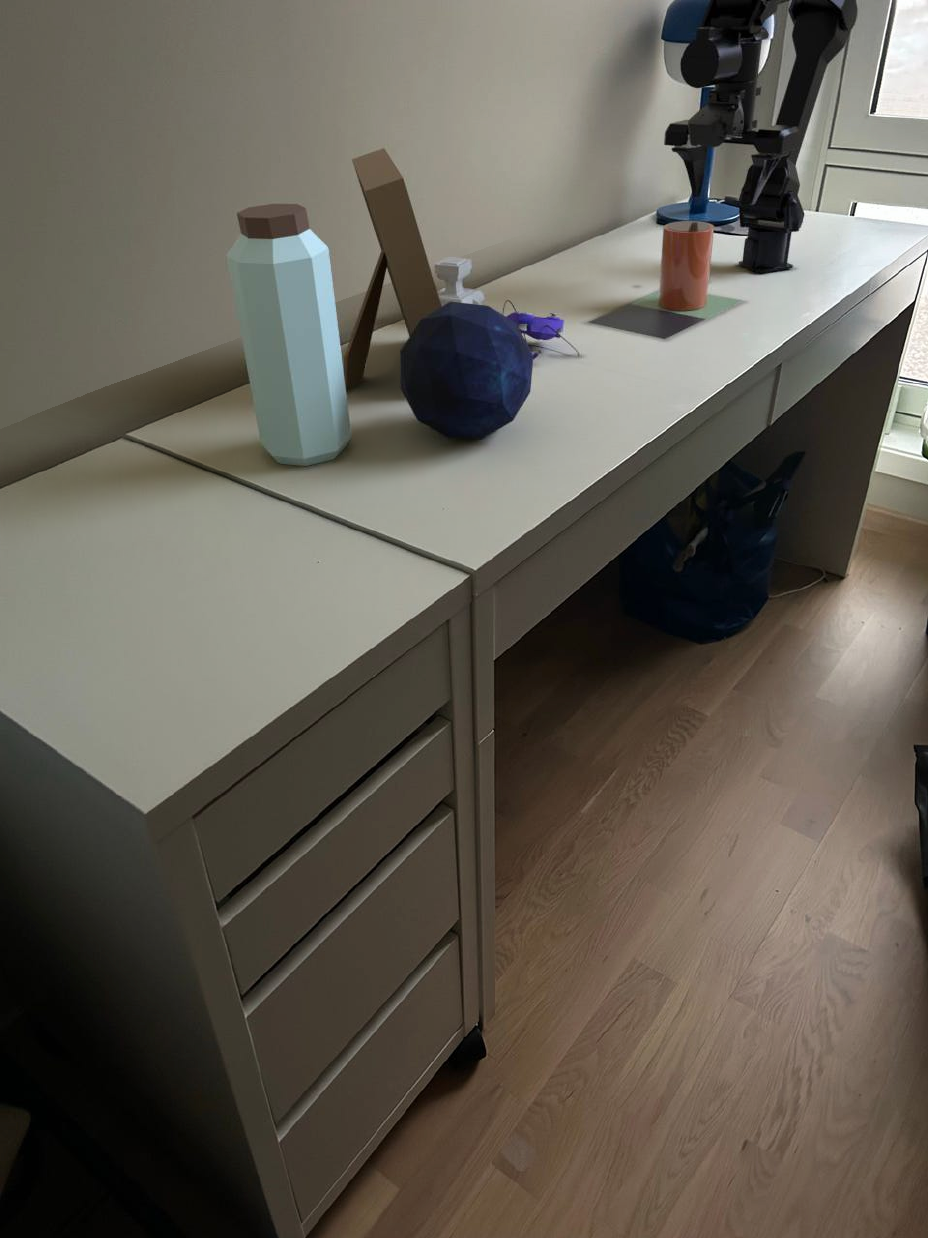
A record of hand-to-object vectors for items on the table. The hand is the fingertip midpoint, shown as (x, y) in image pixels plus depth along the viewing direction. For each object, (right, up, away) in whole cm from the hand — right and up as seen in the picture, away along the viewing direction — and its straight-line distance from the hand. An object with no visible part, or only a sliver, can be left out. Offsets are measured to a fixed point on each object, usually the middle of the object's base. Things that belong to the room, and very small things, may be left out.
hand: (723, 200), depth 140 cm
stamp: (-40, -17, +2) cm, 43 cm away
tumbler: (-6, -15, +2) cm, 16 cm away
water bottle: (-56, -43, -35) cm, 79 cm away
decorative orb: (-38, -41, -32) cm, 64 cm away
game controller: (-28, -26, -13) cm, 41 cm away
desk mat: (-8, -17, 0) cm, 19 cm away
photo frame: (-47, -29, -15) cm, 58 cm away
